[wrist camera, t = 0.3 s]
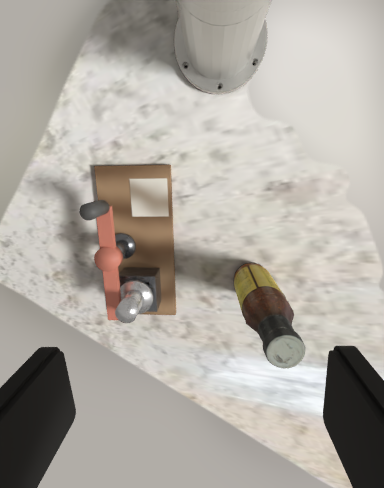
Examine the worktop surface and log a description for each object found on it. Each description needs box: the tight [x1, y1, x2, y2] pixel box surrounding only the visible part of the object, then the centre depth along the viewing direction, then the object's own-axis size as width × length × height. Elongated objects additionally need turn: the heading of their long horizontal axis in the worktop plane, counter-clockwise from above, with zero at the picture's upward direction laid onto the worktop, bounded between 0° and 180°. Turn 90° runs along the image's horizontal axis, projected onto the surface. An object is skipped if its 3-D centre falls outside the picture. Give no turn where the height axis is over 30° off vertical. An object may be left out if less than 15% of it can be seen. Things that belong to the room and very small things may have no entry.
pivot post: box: [115, 233, 136, 259], centre depth 42 cm, size 4×4×5 cm
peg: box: [115, 280, 154, 323], centre depth 42 cm, size 6×6×10 cm
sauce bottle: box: [234, 263, 305, 368], centre depth 36 cm, size 7×6×20 cm
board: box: [94, 165, 176, 315], centre depth 45 cm, size 26×12×1 cm, turn 1°
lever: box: [80, 200, 123, 320], centre depth 37 cm, size 18×4×6 cm, turn 1°
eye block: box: [119, 267, 161, 312], centre depth 45 cm, size 6×6×4 cm
